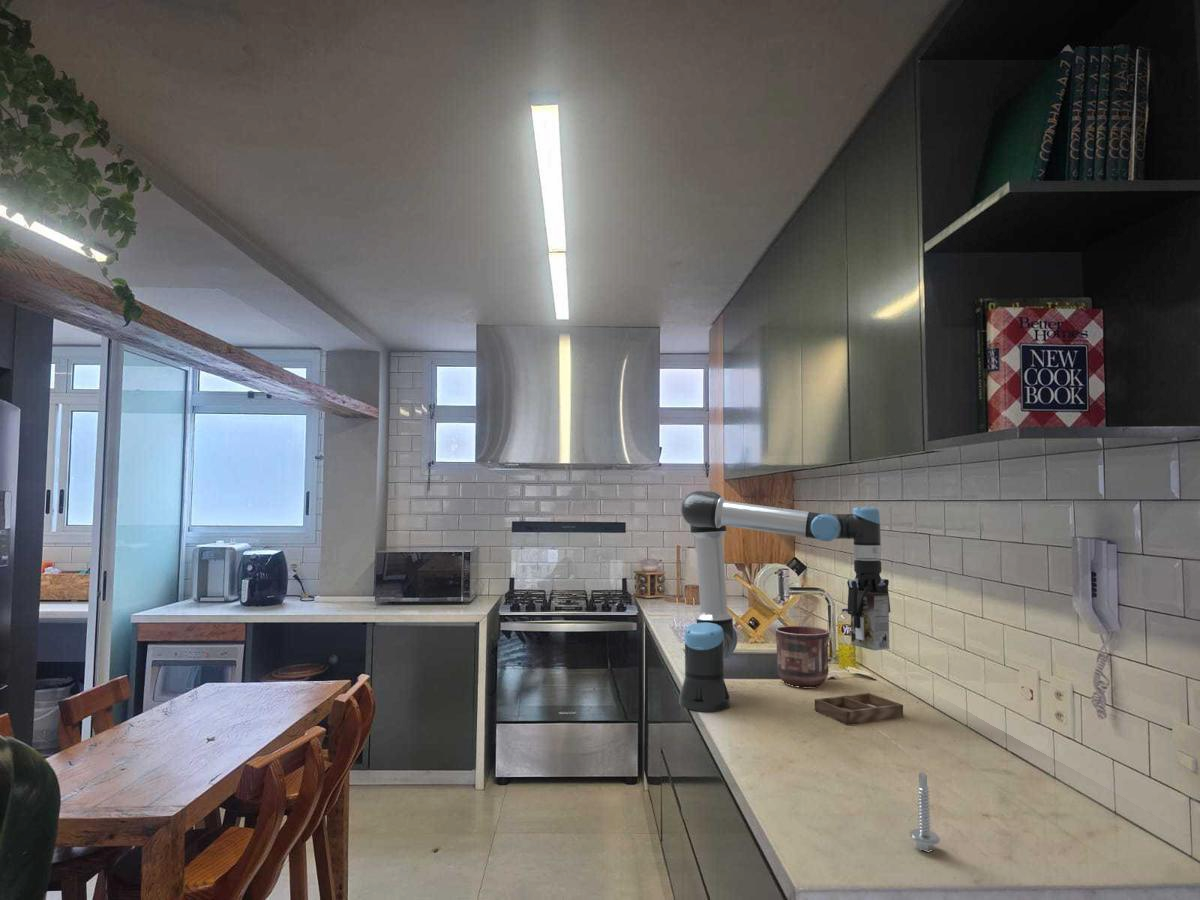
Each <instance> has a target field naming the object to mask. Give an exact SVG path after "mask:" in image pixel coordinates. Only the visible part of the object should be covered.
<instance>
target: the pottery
mask: <svg viewBox="0 0 1200 900" xmlns="http://www.w3.org/2000/svg"><path fill="white" fill-rule="evenodd" d="M775 638H776V639H775V641H776V672H777V674H778V676H779V678H780V680H781V681H782V682H783V681H784V682H783V683H784V684H785V683H787V684H790V685H793V686H799V687H816V688H818V687H817V686H819V687H820V686H821V685H822V684H823V683H825V681H826V680H827V677H828V675H829V641H830V632H829V630H827V629H825V628H820V627H814V626H804V625H787V626H785V625H784V626H779V627H777V628H775Z"/></svg>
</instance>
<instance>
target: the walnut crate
mask: <svg viewBox="0 0 1200 900" xmlns="http://www.w3.org/2000/svg"><path fill="white" fill-rule="evenodd" d="M815 711H816V712H815ZM814 712H815V713H817V712H818V714H820V715H823V716H824V715H825V716H824V717H827V718H829V717H830V718H829V719H831V718H832V720H834V719H835V720H834V721H836V720H837V721H836V722H838V721H839V723H841V724H843V723H844V724H843V725H846V726H851V725H852V724H853V725H859V724H868V723H872V722H880V721H888V720H895V719H901V718H904V704H901V703H898V702H896V701H892V700H890V699H888V698H884V697H882V696H878V695H875V694H872V693H870V692H864V693H856V694H855V693H854V694H847V695H839V696H830V697H821V698H815V699H814ZM853 725H852V726H853Z"/></svg>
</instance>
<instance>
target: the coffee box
mask: <svg viewBox="0 0 1200 900" xmlns="http://www.w3.org/2000/svg"><path fill="white" fill-rule="evenodd" d="M861 591H862V590H861ZM861 593H862V592H857V594H861ZM888 593H889V592H888ZM888 593H882V592H872V591H869V592H868V593H864V594H863V605H864V607H863V611H862V615H861V617H864V640H859V639H856V631H855V627H854V617H853V616H852V615H850V632H851V633H850V637H851V638H850V640H851V646H854V647H855V646H856V647H858V648H859V647H860V648H864V649H868V650H871V651H882V650H890V618H889V617H890V616H889V615H890V613H889V603H888ZM857 612H858V611H857Z"/></svg>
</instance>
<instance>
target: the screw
mask: <svg viewBox="0 0 1200 900" xmlns="http://www.w3.org/2000/svg"><path fill="white" fill-rule="evenodd" d="M917 789H918V790H917V793H918V794H917V796H918V798H917V799H918V801H917V803H918V805H917V810H918V821H919V822H918V824H919V825H918V827H919V828H914V829H913V830H910V832H909V837H910V839H911V840H913V841H915V843H916V845H917V846H918V847H919V849H922V850H927V851H930V850H933V849H934V850H935V848H934V847H935V845H938V844H940V843H941V837H940V836H939V835H938V834H937V833H935V832H933V831H932V830H931V829H930V828H931V822H930V821H931V818H930V817H931V816H930V814H931V812H930V809H931V808H930V806H931V805H930V797H929V796H930V794H929V793H930V791H929V786H928V776H927V774H926V773H924V772H923V771H922V772H919V773H918V787H917ZM916 845H915V846H916ZM917 846H916V847H917ZM918 847H917V848H918ZM919 849H918V850H919Z"/></svg>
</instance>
